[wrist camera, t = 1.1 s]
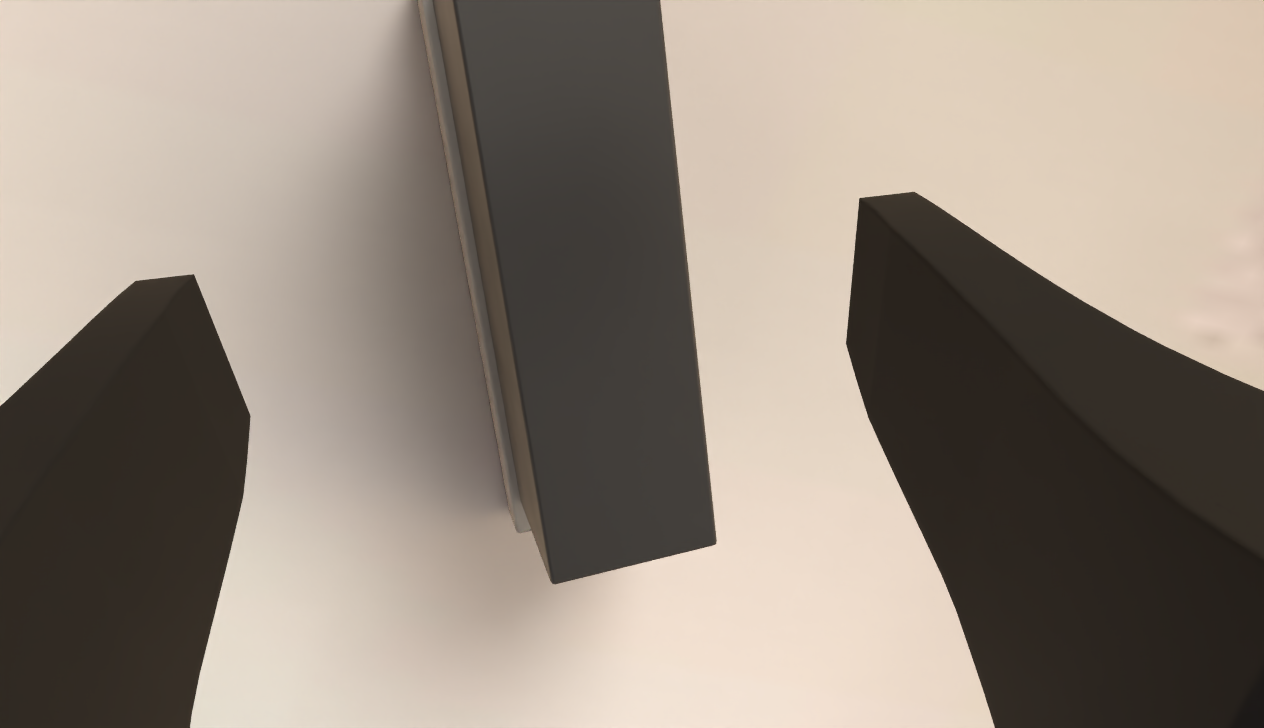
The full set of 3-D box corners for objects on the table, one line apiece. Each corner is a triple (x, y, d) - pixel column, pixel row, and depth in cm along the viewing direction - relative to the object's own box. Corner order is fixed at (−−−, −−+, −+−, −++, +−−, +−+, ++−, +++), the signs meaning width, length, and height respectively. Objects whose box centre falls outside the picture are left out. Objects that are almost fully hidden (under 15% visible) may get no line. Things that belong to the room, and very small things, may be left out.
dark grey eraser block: (661, 477, 26) (730, 577, 21) (509, 512, 25) (547, 624, 21) (598, -43, 22) (667, -56, 17) (413, -20, 21) (434, -27, 16)
